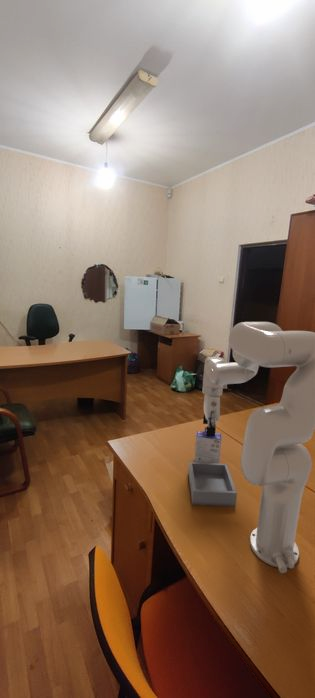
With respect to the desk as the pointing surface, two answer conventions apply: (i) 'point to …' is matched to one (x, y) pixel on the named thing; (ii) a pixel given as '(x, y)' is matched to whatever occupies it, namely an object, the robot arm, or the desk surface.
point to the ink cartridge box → (207, 448)
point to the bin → (211, 484)
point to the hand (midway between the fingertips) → (208, 429)
